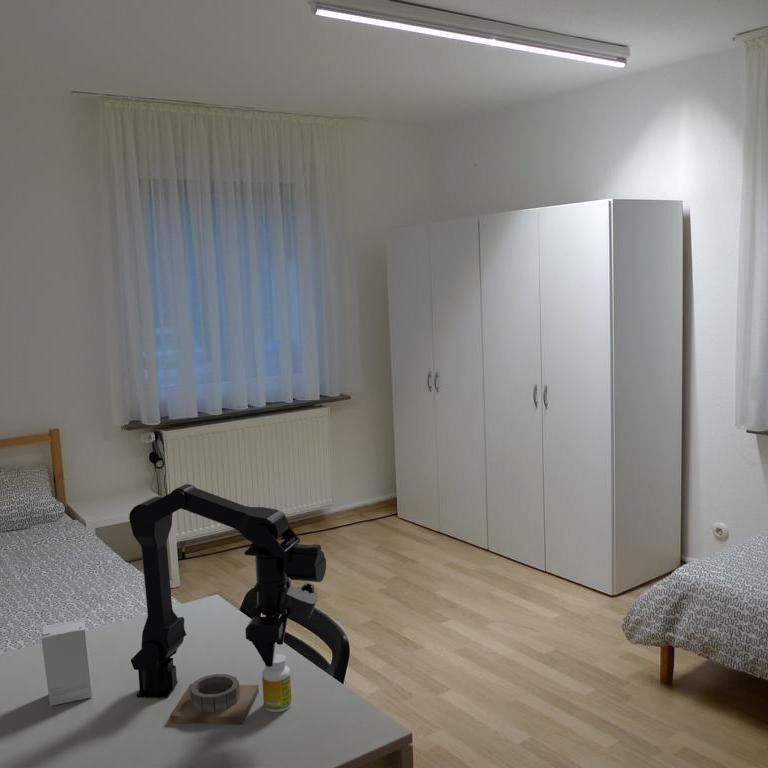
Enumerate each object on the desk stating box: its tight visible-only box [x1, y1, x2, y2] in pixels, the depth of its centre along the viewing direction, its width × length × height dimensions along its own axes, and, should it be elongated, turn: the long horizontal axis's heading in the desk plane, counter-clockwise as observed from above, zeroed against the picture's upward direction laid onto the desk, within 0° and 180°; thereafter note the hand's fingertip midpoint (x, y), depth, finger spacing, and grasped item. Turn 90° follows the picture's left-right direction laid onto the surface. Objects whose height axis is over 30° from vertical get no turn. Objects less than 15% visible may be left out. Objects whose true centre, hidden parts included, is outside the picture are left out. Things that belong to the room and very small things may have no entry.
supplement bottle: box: [261, 653, 292, 713], centre depth 157 cm, size 5×5×10 cm
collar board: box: [169, 673, 260, 726], centre depth 157 cm, size 14×12×4 cm
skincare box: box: [40, 618, 93, 707], centre depth 163 cm, size 8×6×15 cm
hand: (274, 655), depth 156 cm, fingers open, 9 cm apart
